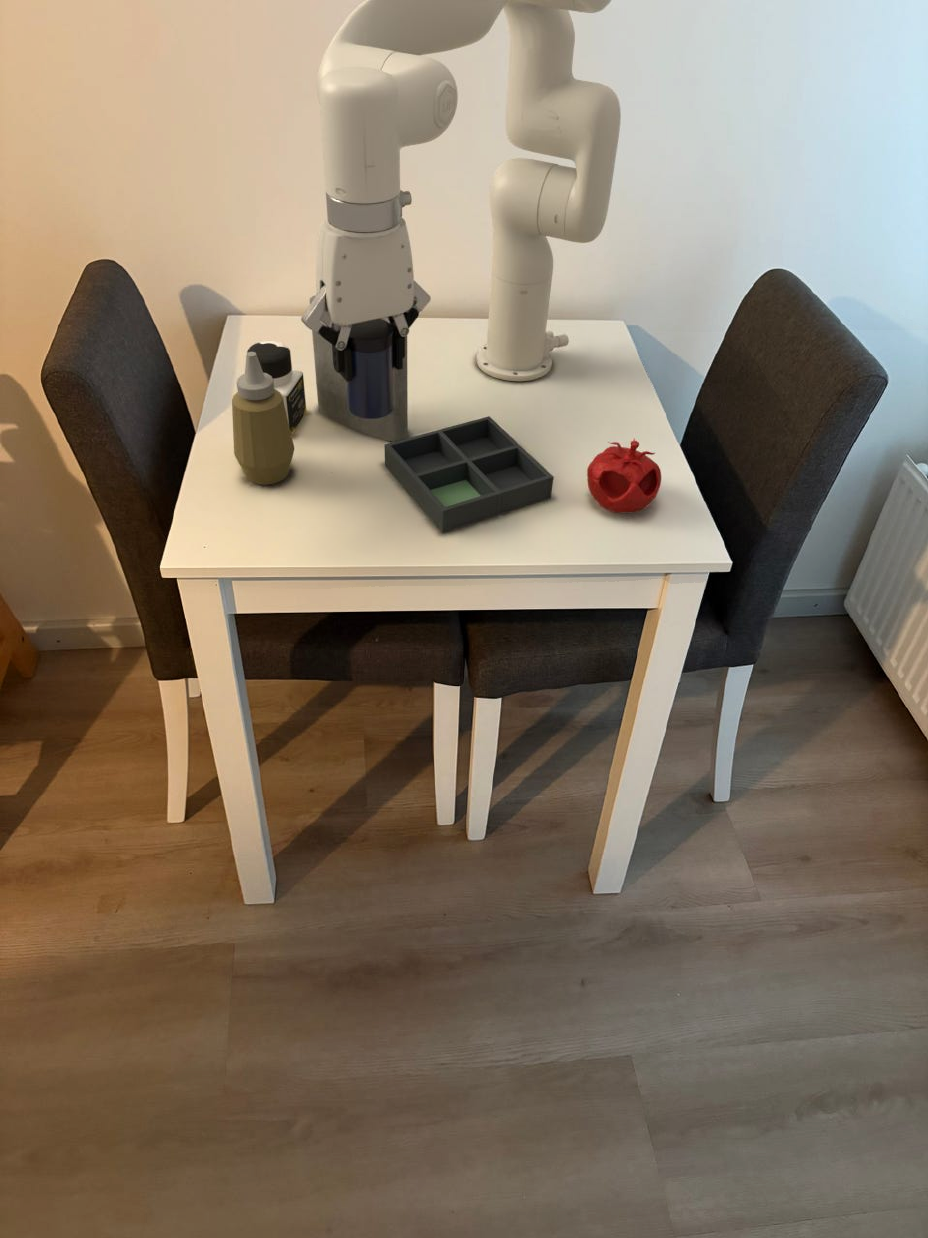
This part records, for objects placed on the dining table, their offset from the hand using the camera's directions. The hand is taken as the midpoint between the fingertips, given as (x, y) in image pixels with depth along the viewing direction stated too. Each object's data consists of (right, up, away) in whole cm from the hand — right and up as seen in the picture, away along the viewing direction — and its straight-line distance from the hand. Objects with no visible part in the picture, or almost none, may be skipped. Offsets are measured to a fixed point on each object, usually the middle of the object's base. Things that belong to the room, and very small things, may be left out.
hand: (369, 368), depth 104 cm
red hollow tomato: (+32, -13, +19) cm, 40 cm away
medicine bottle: (-17, 0, +30) cm, 35 cm away
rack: (+11, -10, +21) cm, 26 cm away
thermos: (0, -4, +3) cm, 5 cm away
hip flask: (-5, 0, +30) cm, 31 cm away
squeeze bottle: (-16, -9, +20) cm, 28 cm away
